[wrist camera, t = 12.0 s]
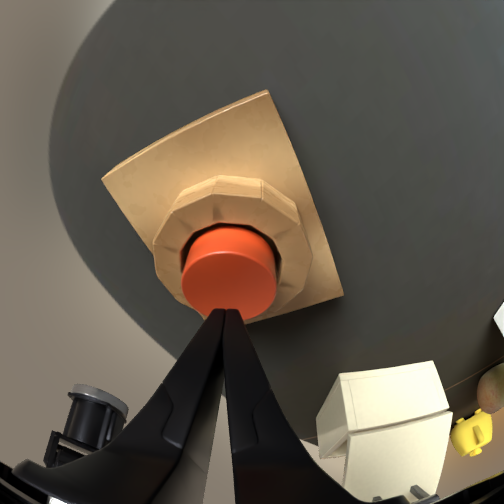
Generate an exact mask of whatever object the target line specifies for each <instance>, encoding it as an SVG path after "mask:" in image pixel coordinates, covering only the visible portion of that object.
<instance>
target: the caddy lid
mask: <svg viewBox="0 0 504 504" xmlns="http://www.w3.org/2000/svg"><path fill="white" fill-rule="evenodd" d="M452 414H453V412H450V411H447V412H444V413H441V414H437V415H434V416H431V417H427V418H424V419H420V420H416V421H412V422H408V423H404V424H400V425H396V426H391V427H386V428H381V429H376V430H371V431H365V432H359V433H353V434H348V440H347V450H346V459H345V467H344V475H343V481H342V487H343V488H345V489H346V490H347V491H348V492H349V493H351V494H352V495H353V496H354V497H356V498H357V499H359V500H361V501H364V502H375V501H379V500H383V499H387V498H391V497H395V496H398V495H404V496H405V497H406V498H407V500H408V501H409V502H410V503H411V504H430V503H433V502H435V501H438V500H440V499H439V496H438V495H437V494H435V492H436V489H437V485H438V482H439V478H440V475H441V471H442V467H443V463H444V458H445V454H446V449H447V444H448V439H449V434H450V428H451V421H452Z"/></svg>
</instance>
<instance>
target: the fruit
mask: <svg viewBox="0 0 504 504" xmlns="http://www.w3.org/2000/svg"><path fill="white" fill-rule="evenodd" d="M477 400H478V404H479V406H480V408H481V410H482V411H483V412H485V413H487V414H492V413H495V412H496V411H498V410H499V409H501V408H502V407H504V363H501V364H500V365H497V366H495V367H493V368H492V369H490V370H489V371H487V372H486V373H485V374H484V375H483V376H482V377H481V379H480V381H479V383H478V388H477Z"/></svg>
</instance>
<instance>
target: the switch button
mask: <svg viewBox="0 0 504 504" xmlns="http://www.w3.org/2000/svg"><path fill="white" fill-rule="evenodd" d="M181 288H182V292H183V295H184V297H185V299H186V300H187V302H188V303H189V304H190V305H191V306H192V307H193V308H194V309H195V310H197V311H198V312H200V313H201V314H203V315H205V316H207V317H208V316H209V314H210V313H211V311H212V310H213V309H214V308H224V309H226V310H227V309H238V310H239V311H240V314H241V316H242V319H243V320H248V319H251V318H254V317H256V316H258V315H260V314H262V313H263V312H264V311H266V310H267V309H268V308H269V307H270V305H271V304H272V303H273V301H274V299H275V296H276V292H277V282H276V269H275V258H274V254H273V251H272V249H271V247H270V246H269V244H268V243H267V242H266V241H265V240H264V239H263V238H262V237H261V236H260V235H258V234H257V233H255V232H253V231H251V230H249V229H246V228H242V227H237V226H221V227H216V228H213V229H211V230H208V231H206V232H205V233H203V234H202V235H200V236H199V237H198V238H197V239H196V240H195V241H194V243H193V244H192V246H191V248H190V251H189V254H188V257H187V260H186V264H185V267H184V270H183V274H182V278H181Z"/></svg>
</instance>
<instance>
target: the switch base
mask: <svg viewBox="0 0 504 504" xmlns="http://www.w3.org/2000/svg"><path fill="white" fill-rule="evenodd" d="M101 180H102V181H103V183H104V185H105V186H106V188H107V189H108V191H109V192H110V194H111V195H112V197H113V198H114V200H115V201H116V203H117V204H118V206H119V207H120V209H121V210H122V212H123V213H124V215H125V216H126V217H127V219H128V220H129V222H130V223H131V225H132V226H133V227H134V229H135V230H136V232H137V233H138V234H139V236H140V237H141V239H142V240H143V241H144V243H145V244H146V246H147V247H148V248H149V250H150V251H151V252H152V254H153V255H154V261H155V268H156V274H157V277H158V278H159V279H160V280H161V282H162V283H163V284H164V285H165V287H166V288H167V289H168V290H169V292H170V293H171V294H172V295H173V296H174V298H175V299H176V300H177V301H179V302H180V303H182V304H184V305H186V306H188V307H190V308H192V309H194V308H193V307H192V306H191V305H190V304H189V303H188V302H187V300H186V299H185V297H184V295H183V292H182V288H181V278H182V274H183V270H184V267H185V264H186V260H187V257H188V254H189V251H190V248H191V246H192V244H193V243H194V241H195V240H196V239H197V238H198V237H199V236H200V235H202V234H203V233H205V232H206V231H208V230H211V229H213V228H216V227H221V226H237V227H242V228H246V229H249V230H251V231H253V232H255V233H257V234H258V235H260V236H261V237H262V238H263V239H264V240H265V241H266V242H267V243H268V244H269V246H270V247H271V249H272V251H273V254H274V258H275V269H276V282H277V292H276V296H275V299H274V301H273V303H272V304H271V305H270V307H269V308H268V309H267V310H266V311H264V312H263V313H262V314H260V315H258V316H256V317H254V318H251V319H248V320H243V321H244V324H248V323H252V322H256V321H259V320H263V319H267V318H270V317H274V316H277V315H281V314H284V313H288V312H291V311H294V310H298V309H301V308H305V307H308V306H311V305H314V304H318V303H321V302H324V301H327V300H330V299H333V298H336V297H339V296H342V295H344V293H343V290H342V286H341V283H340V280H339V276H338V273H337V270H336V267H335V263H334V260H333V257H332V254H331V251H330V248H329V245H328V242H327V239H326V236H325V233H324V230H323V227H322V224H321V221H320V218H319V215H318V213H317V210H316V207H315V204H314V201H313V199H312V196H311V193H310V191H309V188H308V185H307V183H306V180H305V177H304V175H303V172H302V169H301V167H300V164H299V162H298V159H297V157H296V154H295V152H294V149H293V147H292V144H291V142H290V140H289V137H288V135H287V132H286V130H285V128H284V125H283V123H282V121H281V118H280V116H279V114H278V111H277V109H276V107H275V105H274V102H273V100H272V98H271V96H270V94H269V92H268V90H264V91H261V92H258V93H256V94H253V95H251V96H249V97H246V98H244V99H241V100H239V101H237V102H234V103H232V104H230V105H228V106H225V107H223V108H221V109H219V110H216V111H214V112H212V113H210V114H208V115H206V116H204V117H202V118H200V119H198V120H196V121H194V122H192V123H190V124H188V125H186V126H184V127H182V128H180V129H178V130H176V131H174V132H172V133H171V134H169V135H167V136H165V137H163V138H162V139H160V140H158V141H156V142H154V143H153V144H151V145H149V146H147V147H146V148H144V149H142V150H141V151H139V152H137V153H136V154H134V155H132V156H131V157H129V158H128V159H126V160H124V161H123V162H121V163H120V164H118V165H117V166H115V167H114V168H113V169H112V170H111V171H110V172H108V173H107V174H106V175H105V176H104V177H103V178H102V179H101ZM194 310H195V309H194ZM196 311H197V310H196ZM198 313H199V314H200V315H201V316H202V317H203V319H204V320H206V318H207V316H205V315H203V314H201V313H200V312H198Z"/></svg>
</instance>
